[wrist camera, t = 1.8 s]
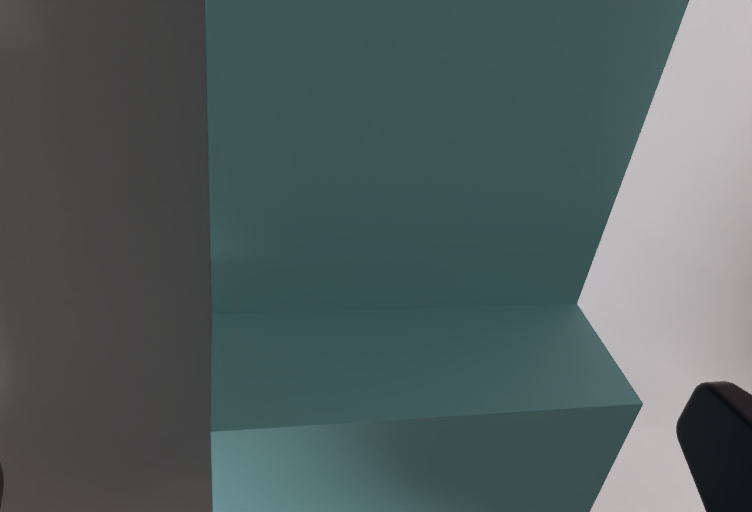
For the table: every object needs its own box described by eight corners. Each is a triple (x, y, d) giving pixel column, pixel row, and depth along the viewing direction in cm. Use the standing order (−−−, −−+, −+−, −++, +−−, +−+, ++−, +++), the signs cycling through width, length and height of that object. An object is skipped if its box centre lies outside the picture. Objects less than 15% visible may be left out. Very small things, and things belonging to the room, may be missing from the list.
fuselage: (432, 463, 13) (501, 689, 10) (218, 480, 12) (218, 735, 9) (650, -375, 6) (1098, -518, 3) (201, -475, 5) (180, -817, 2)
